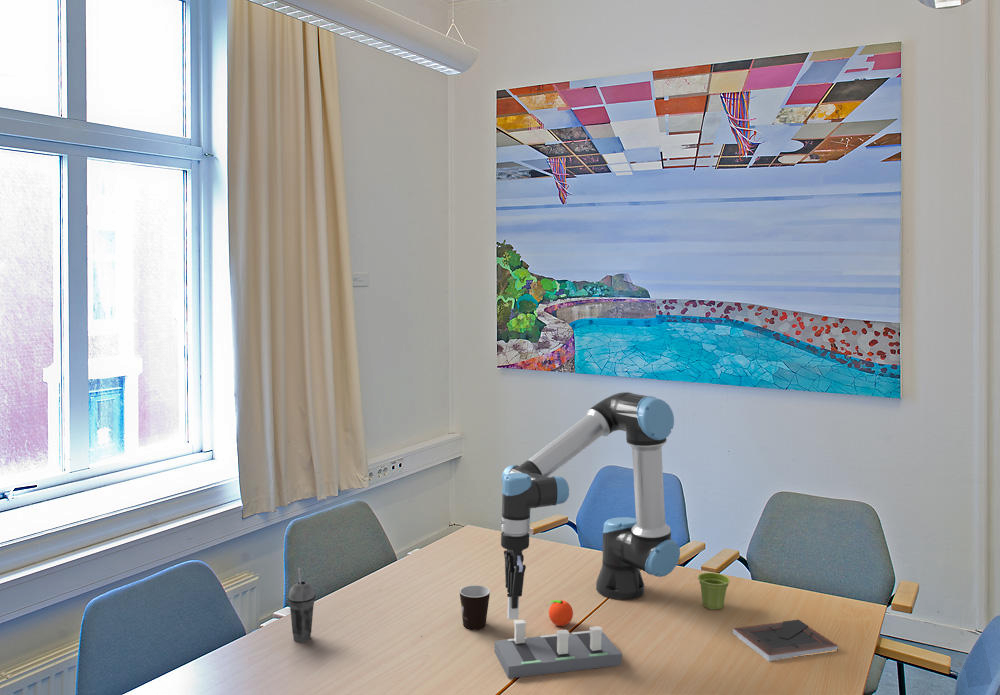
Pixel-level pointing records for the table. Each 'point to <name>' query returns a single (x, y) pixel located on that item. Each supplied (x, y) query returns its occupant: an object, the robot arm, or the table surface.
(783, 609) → the table surface
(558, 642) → the switch middle
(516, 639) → the switch
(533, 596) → the table surface
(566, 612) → the clementine
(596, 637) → the switch
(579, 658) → the switch panel
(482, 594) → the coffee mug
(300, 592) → the beverage cup
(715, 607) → the plant pot
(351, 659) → the table surface
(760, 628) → the brown book
